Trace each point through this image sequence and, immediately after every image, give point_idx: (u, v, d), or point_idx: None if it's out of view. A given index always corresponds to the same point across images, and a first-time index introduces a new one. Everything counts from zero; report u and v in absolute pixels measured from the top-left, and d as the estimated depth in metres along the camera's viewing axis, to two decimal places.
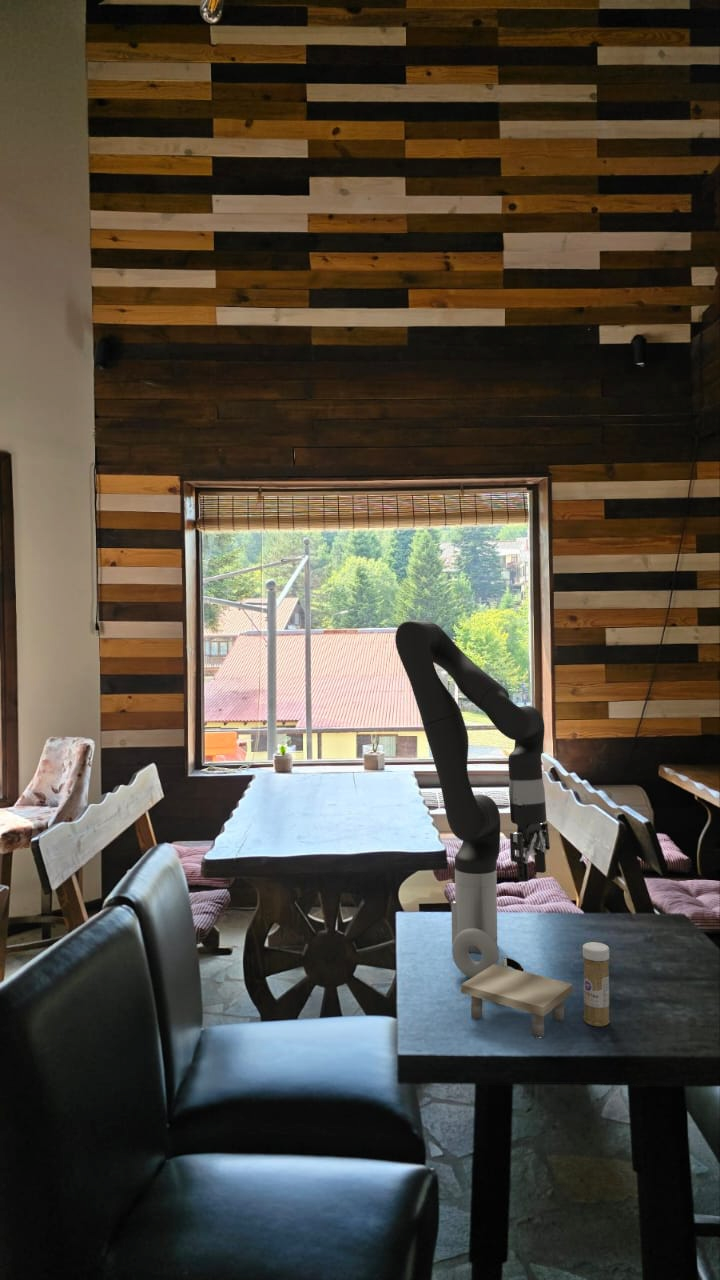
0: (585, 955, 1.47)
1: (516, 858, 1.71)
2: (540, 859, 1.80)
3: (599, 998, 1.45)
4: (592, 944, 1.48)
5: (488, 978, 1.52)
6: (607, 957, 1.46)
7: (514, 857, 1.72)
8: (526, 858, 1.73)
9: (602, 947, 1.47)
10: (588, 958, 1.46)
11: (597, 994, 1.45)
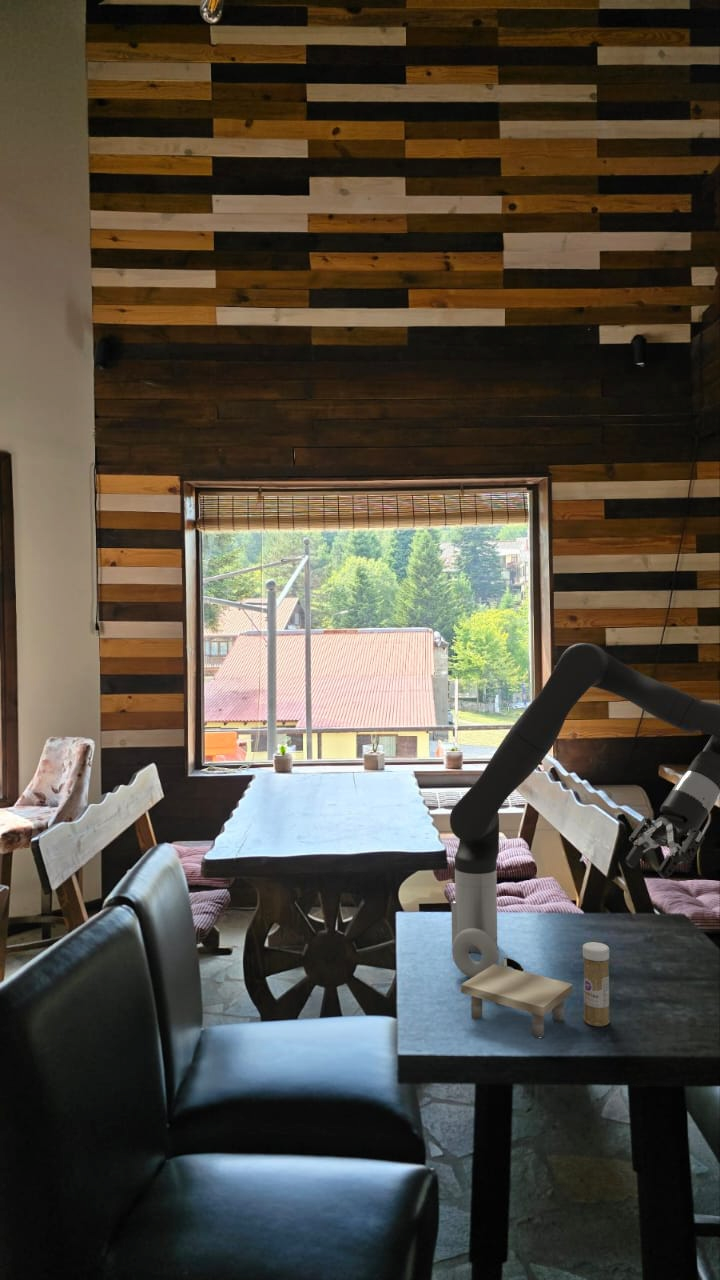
0: (585, 955, 1.47)
1: (688, 855, 1.47)
2: (639, 854, 1.57)
3: (599, 998, 1.45)
4: (592, 944, 1.48)
5: (488, 978, 1.52)
6: (607, 957, 1.46)
7: (686, 853, 1.47)
8: None
9: (602, 947, 1.47)
10: (588, 958, 1.46)
11: (597, 994, 1.45)
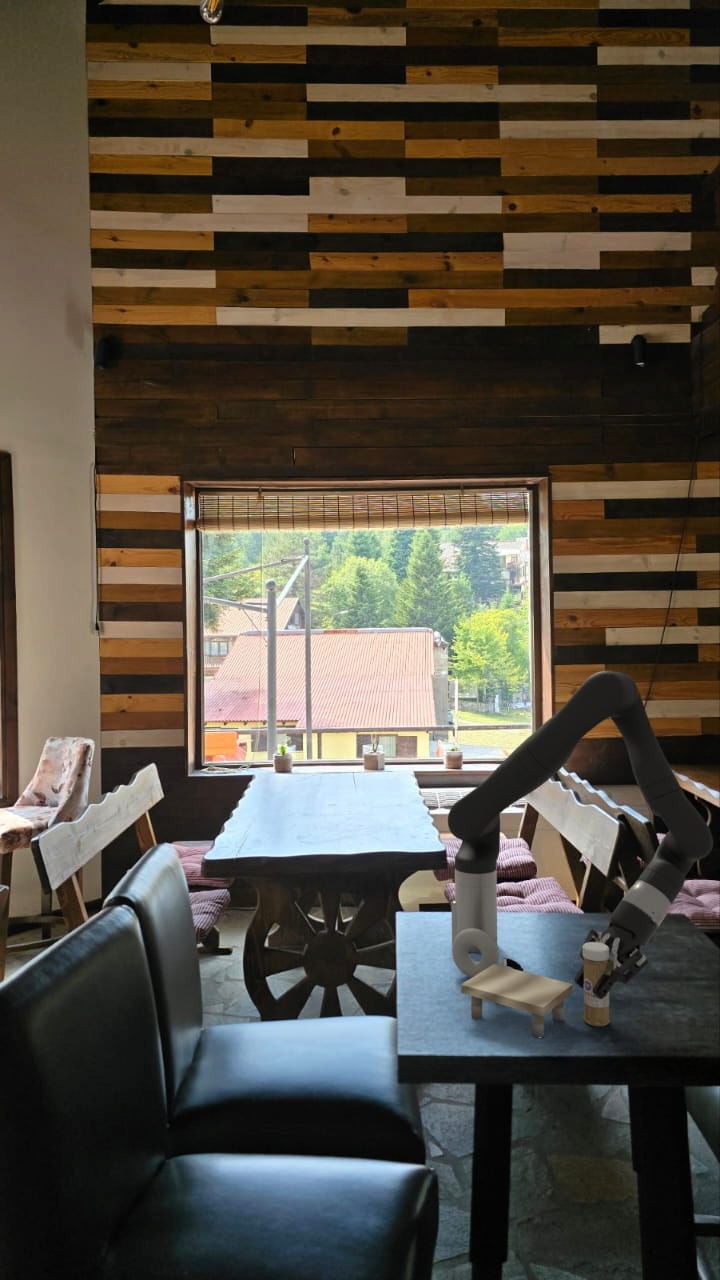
0: (585, 955, 1.47)
1: (624, 976, 1.43)
2: None
3: None
4: (592, 944, 1.48)
5: (488, 978, 1.52)
6: (607, 957, 1.46)
7: (622, 974, 1.43)
8: None
9: (602, 947, 1.47)
10: (588, 958, 1.46)
11: None
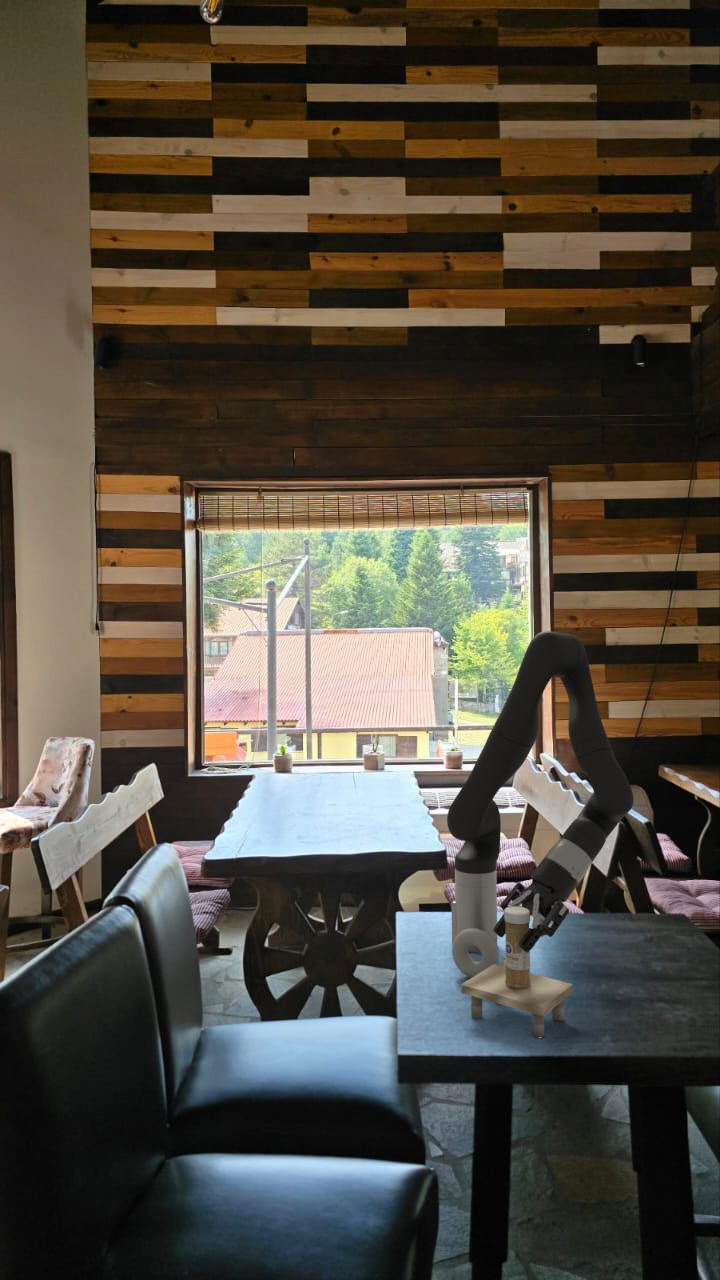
0: (506, 918, 1.49)
1: (549, 929, 1.44)
2: None
3: (519, 961, 1.47)
4: (514, 908, 1.50)
5: (488, 978, 1.52)
6: (527, 920, 1.48)
7: (548, 927, 1.44)
8: None
9: (523, 911, 1.49)
10: (509, 921, 1.48)
11: (517, 957, 1.47)
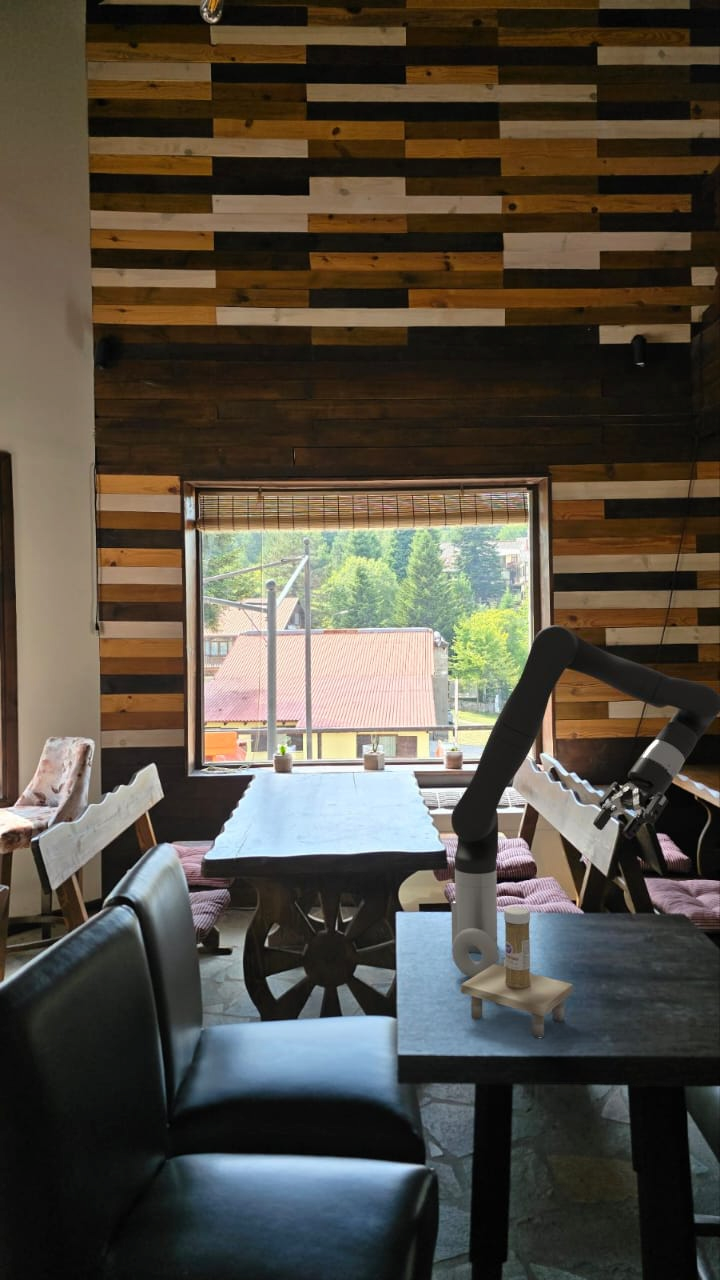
0: (506, 918, 1.49)
1: (652, 817, 1.56)
2: (606, 817, 1.66)
3: (519, 961, 1.47)
4: (514, 908, 1.50)
5: (488, 978, 1.52)
6: (527, 920, 1.48)
7: (650, 815, 1.56)
8: None
9: (523, 911, 1.49)
10: (509, 921, 1.48)
11: (516, 957, 1.47)
